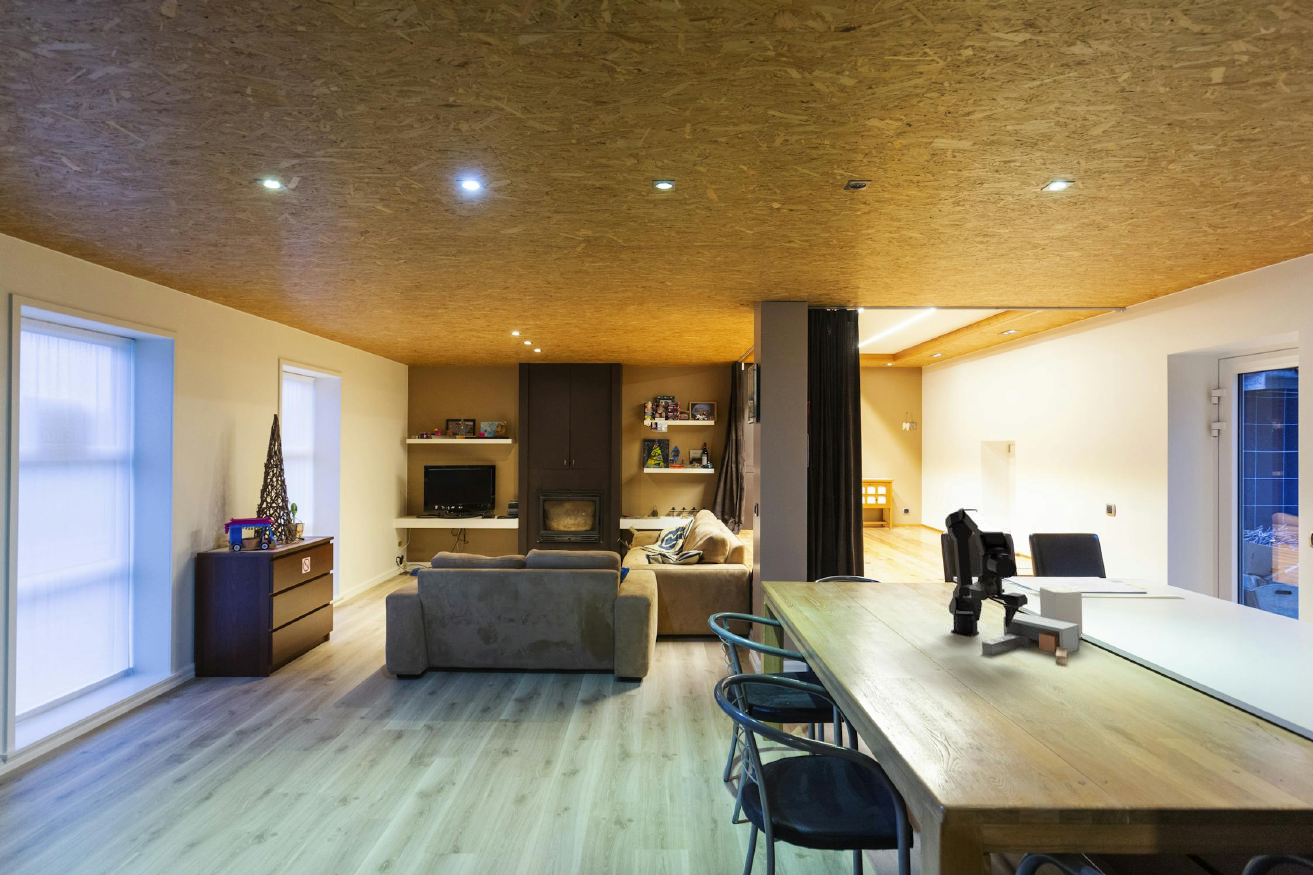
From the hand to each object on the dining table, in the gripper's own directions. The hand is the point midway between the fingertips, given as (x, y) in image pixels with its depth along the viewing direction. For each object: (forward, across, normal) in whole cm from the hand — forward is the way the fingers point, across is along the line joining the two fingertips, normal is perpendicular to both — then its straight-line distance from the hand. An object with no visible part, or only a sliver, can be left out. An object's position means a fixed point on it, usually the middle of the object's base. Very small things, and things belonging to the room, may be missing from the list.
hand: (992, 623), depth 198 cm
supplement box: (+9, +2, +37) cm, 39 cm away
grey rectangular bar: (+9, 0, +6) cm, 10 cm away
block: (+9, +8, +18) cm, 22 cm away
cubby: (+9, +4, +20) cm, 22 cm away
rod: (+9, +15, +10) cm, 20 cm away
